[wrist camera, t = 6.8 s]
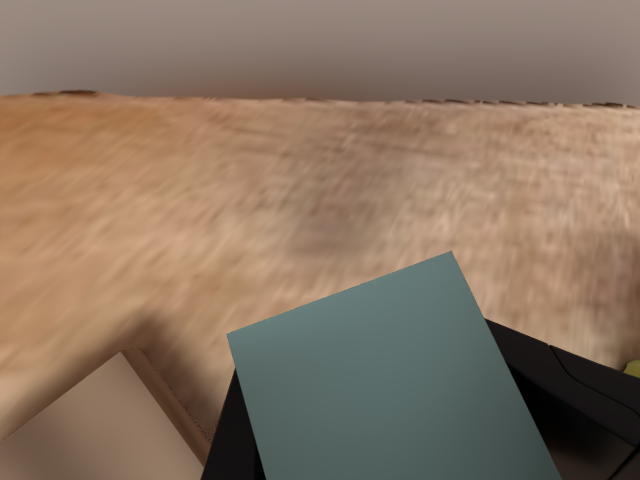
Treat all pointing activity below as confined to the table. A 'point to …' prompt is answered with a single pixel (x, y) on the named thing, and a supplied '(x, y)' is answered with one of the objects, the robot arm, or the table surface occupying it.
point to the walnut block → (109, 430)
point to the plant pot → (633, 368)
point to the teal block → (387, 386)
